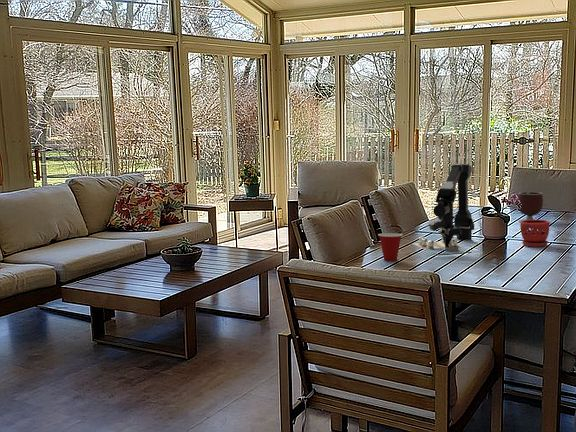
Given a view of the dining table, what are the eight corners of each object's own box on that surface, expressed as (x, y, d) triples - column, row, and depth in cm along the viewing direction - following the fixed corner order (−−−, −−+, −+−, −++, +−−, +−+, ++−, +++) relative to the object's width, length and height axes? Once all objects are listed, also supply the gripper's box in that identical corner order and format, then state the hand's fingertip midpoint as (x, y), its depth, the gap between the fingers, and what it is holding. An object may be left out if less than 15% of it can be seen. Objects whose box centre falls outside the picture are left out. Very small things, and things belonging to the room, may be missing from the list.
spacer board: (449, 243, 323) (449, 240, 322) (463, 248, 308) (463, 246, 308) (412, 245, 319) (412, 243, 319) (424, 251, 304) (424, 249, 304)
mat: (461, 248, 308) (461, 248, 308) (471, 252, 298) (471, 252, 298) (426, 251, 304) (426, 250, 304) (435, 255, 295) (435, 254, 295)
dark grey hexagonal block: (454, 249, 304) (454, 244, 303) (461, 252, 298) (461, 247, 298) (441, 251, 302) (441, 246, 302) (448, 253, 296) (448, 248, 296)
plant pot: (549, 243, 314) (550, 219, 312) (548, 248, 302) (548, 223, 300) (521, 242, 319) (521, 218, 318) (518, 247, 308) (519, 222, 306)
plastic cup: (404, 257, 293) (404, 231, 291) (400, 262, 283) (400, 235, 281) (380, 256, 296) (380, 231, 295) (376, 261, 286) (375, 235, 285)
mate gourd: (521, 219, 387) (521, 186, 384) (545, 221, 379) (545, 187, 376) (513, 223, 374) (513, 189, 371) (537, 224, 366) (538, 190, 363)
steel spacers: (447, 241, 321) (447, 234, 320) (460, 246, 308) (460, 239, 307) (416, 243, 318) (416, 236, 317) (427, 248, 305) (427, 241, 304)
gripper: (422, 212, 308) (422, 244, 311) (439, 217, 290) (438, 251, 292) (444, 210, 310) (444, 242, 313) (462, 216, 292) (461, 250, 295)
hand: (446, 246), depth 303 cm, fingers closed
